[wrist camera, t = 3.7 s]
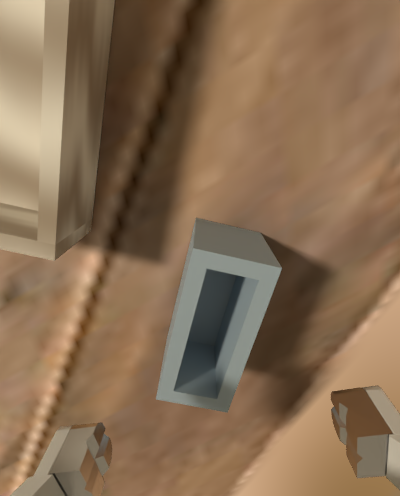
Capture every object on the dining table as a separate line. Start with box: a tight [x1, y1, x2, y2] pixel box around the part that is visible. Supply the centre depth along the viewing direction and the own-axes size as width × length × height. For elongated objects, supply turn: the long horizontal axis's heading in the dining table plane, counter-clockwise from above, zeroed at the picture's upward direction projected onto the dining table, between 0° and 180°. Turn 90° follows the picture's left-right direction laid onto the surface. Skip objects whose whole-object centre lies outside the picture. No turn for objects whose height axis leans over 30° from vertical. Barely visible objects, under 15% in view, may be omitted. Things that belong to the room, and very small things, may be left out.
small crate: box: [156, 218, 282, 412], centre depth 16 cm, size 9×4×5 cm, turn 167°
